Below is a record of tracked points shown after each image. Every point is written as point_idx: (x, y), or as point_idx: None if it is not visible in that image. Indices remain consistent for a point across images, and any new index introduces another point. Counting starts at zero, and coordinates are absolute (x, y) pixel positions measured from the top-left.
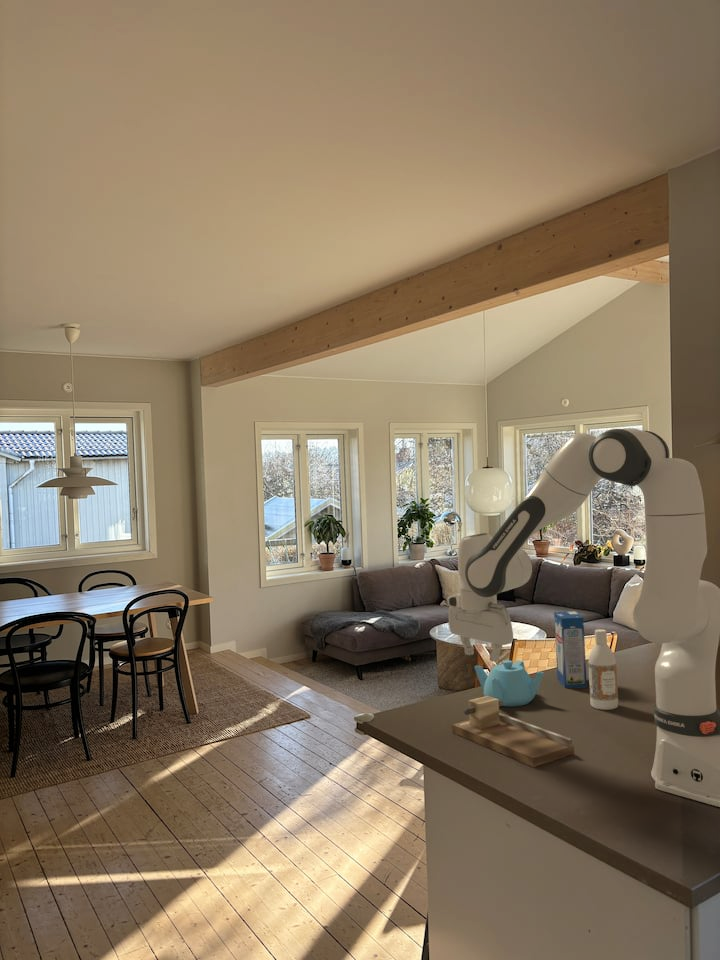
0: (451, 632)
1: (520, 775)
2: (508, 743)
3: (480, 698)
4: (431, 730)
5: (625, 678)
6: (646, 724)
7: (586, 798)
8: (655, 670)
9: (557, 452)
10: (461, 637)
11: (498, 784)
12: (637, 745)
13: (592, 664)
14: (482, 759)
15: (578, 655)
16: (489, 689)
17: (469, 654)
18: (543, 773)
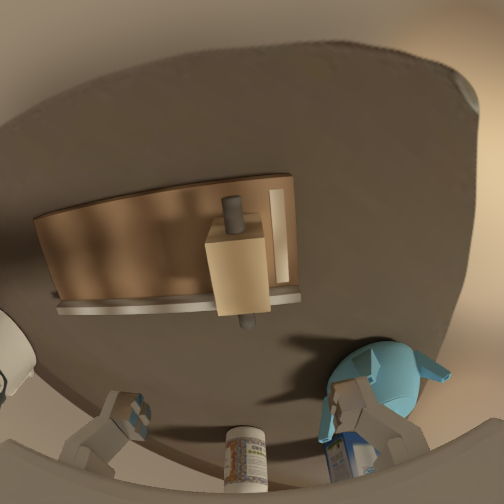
0: (499, 420)
1: (27, 177)
2: (101, 221)
3: (258, 280)
4: (335, 138)
5: (313, 467)
6: (157, 423)
7: None
8: None
9: None
10: (417, 445)
11: (17, 127)
12: (91, 376)
13: (244, 482)
14: (100, 146)
15: (336, 477)
16: (390, 357)
17: (332, 386)
18: (25, 214)
